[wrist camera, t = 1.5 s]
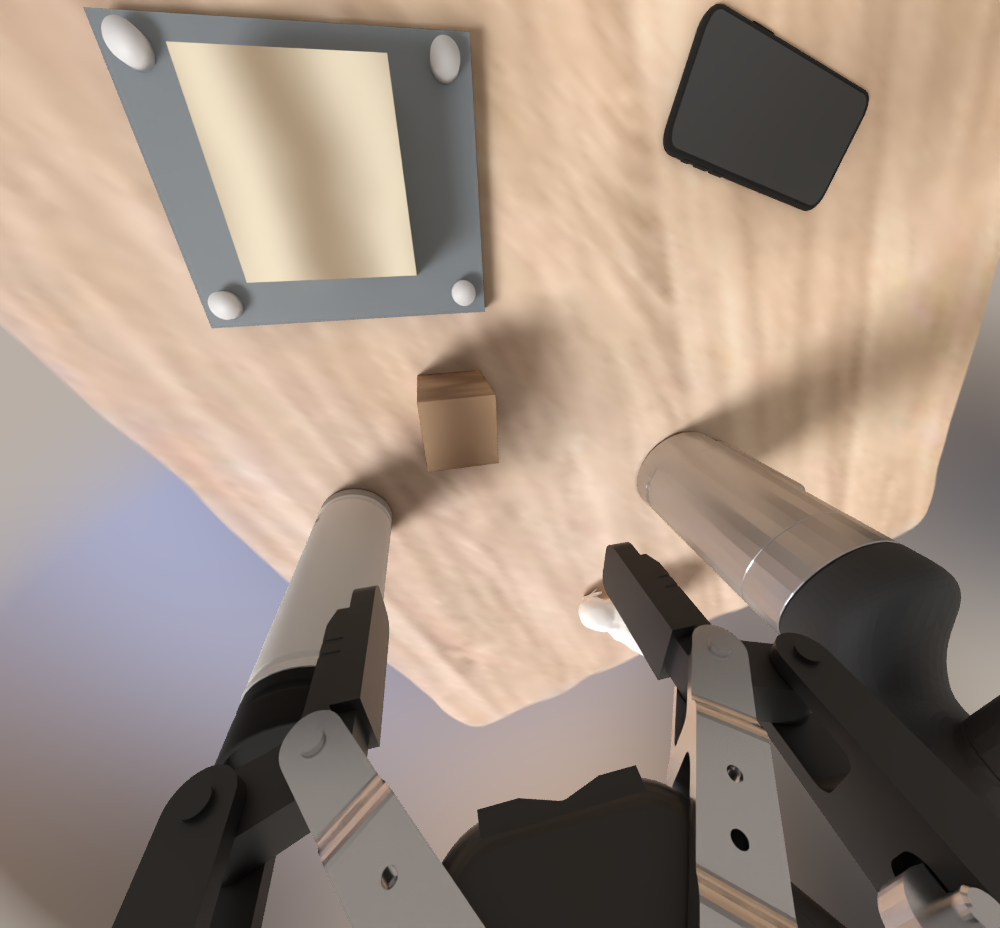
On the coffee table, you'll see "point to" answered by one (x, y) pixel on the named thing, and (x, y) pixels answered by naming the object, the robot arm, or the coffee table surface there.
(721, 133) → the smartphone
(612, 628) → the white lumpy piece
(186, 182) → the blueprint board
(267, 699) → the travel mug
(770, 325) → the coffee table surface
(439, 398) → the walnut block
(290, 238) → the birch plinth
